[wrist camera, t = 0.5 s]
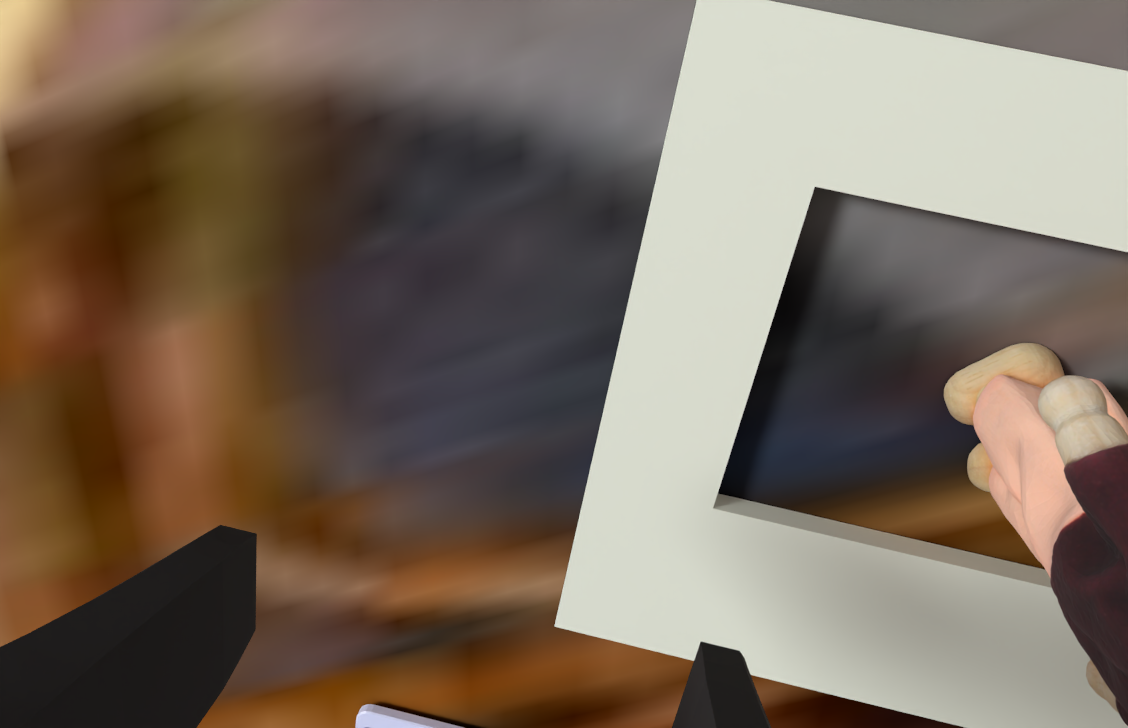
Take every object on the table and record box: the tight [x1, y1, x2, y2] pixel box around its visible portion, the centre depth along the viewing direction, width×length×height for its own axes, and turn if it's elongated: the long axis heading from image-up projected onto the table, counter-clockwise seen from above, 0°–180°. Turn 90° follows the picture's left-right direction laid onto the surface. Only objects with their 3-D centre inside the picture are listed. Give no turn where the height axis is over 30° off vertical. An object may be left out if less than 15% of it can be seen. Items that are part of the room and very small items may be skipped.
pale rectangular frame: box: [554, 0, 1128, 728], centre depth 21 cm, size 18×20×1 cm
